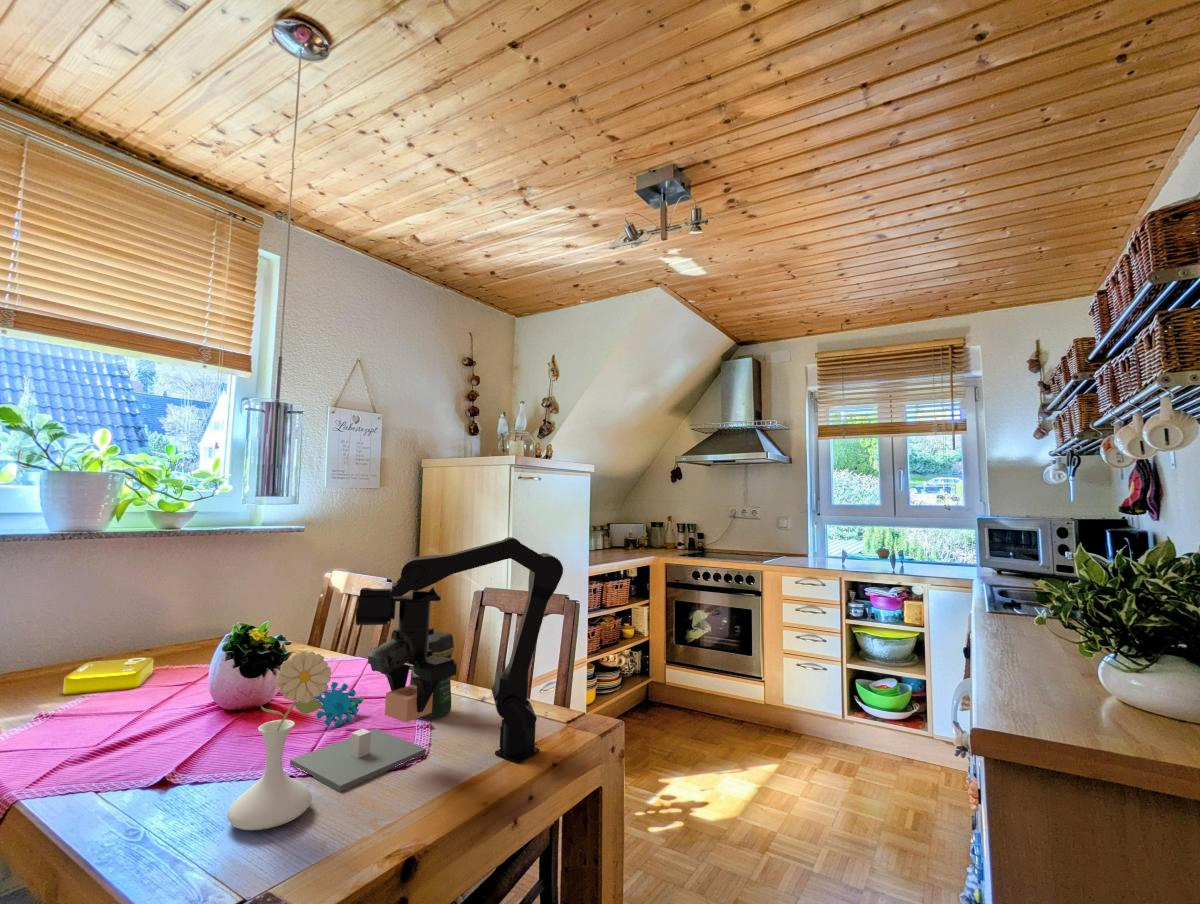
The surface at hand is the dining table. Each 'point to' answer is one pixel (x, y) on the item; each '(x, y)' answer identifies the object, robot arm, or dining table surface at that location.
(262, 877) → the dining table surface
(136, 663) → the element tile
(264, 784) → the flower in vase
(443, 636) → the coffee jar
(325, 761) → the post plate
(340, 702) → the teal virus model
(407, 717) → the collar
